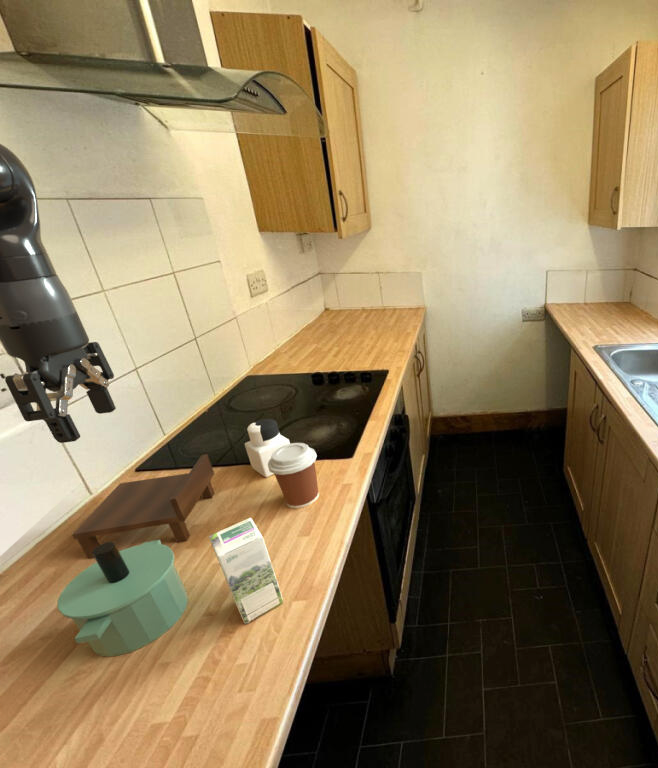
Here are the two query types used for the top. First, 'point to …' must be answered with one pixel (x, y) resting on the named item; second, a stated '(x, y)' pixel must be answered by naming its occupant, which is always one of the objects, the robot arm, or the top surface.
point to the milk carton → (247, 569)
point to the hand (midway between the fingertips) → (89, 425)
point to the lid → (115, 579)
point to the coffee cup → (295, 473)
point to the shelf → (148, 505)
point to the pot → (136, 619)
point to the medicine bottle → (263, 444)
